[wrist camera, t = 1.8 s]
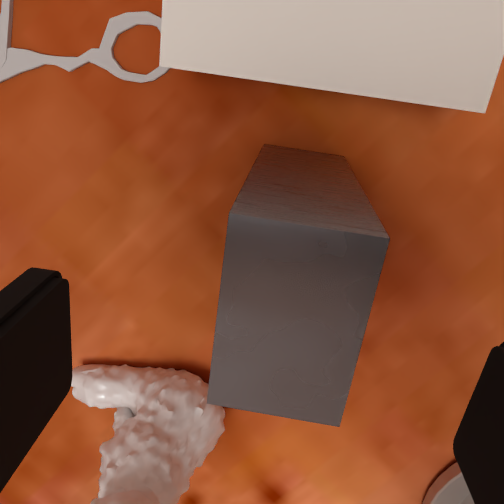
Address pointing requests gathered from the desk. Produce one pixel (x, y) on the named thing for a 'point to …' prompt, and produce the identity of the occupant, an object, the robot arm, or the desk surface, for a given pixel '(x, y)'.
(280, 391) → the brushed steel block
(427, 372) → the desk surface
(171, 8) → the post base
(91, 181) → the desk surface
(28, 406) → the robot arm
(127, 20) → the scissors
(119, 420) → the seated beast figurine
